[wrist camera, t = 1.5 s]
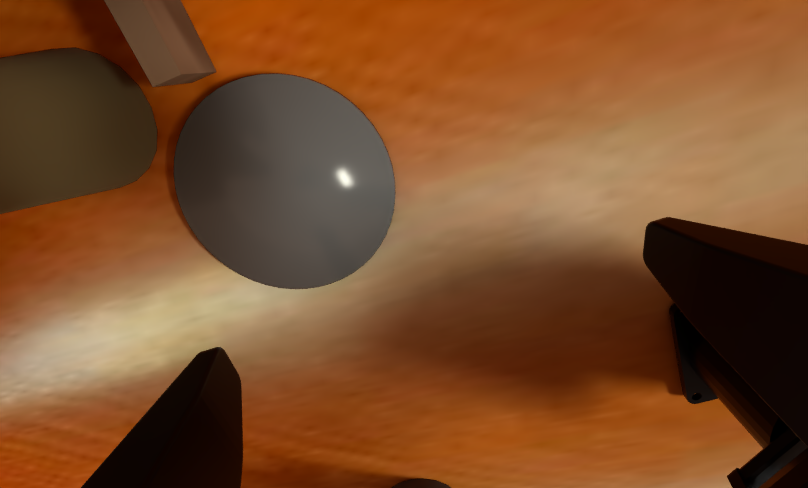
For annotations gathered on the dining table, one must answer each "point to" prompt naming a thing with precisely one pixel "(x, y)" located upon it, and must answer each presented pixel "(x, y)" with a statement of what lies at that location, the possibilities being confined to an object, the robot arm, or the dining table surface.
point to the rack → (162, 40)
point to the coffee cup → (421, 484)
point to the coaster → (284, 181)
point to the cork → (69, 127)
